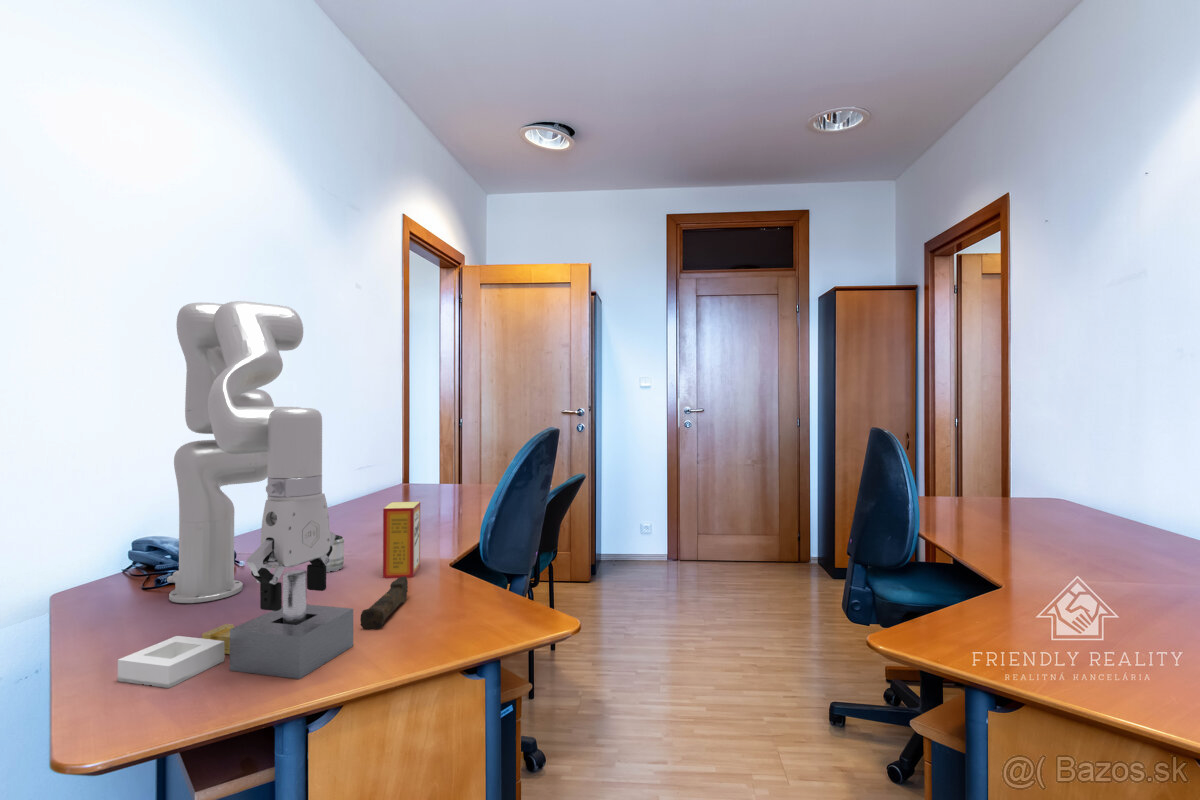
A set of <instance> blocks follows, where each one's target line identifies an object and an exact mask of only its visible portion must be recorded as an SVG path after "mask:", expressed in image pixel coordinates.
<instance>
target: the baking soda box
mask: <svg viewBox="0 0 1200 800" xmlns="http://www.w3.org/2000/svg"><path fill="white" fill-rule="evenodd" d="M382 511H383V512H382V515H383V517H382V521H383V522H382V523H383V524H382V526H383V527H382V528H383V529H382V530H383V531H382V537H383V538H382V578H385V579H398V578H400V577H403V576H405V577H406V578H407V579H408V578H414V577H415V575H416V574H417V572H418V571H419V569H420V567H421V501H391V503H388V504H387V505H386V506H384V507H383V510H382Z"/></svg>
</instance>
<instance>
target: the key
mask: <svg viewBox="0 0 1200 800" xmlns="http://www.w3.org/2000/svg"><path fill="white" fill-rule="evenodd" d="M234 627H235V624H231V623H230V624H229V623H224V624H221V625H220V626H218V627H215V628H213V629H210V630H208V631H206V632H203V633H201V638H202V639H211V640H220V641H224V655H230V629H232V628H234Z"/></svg>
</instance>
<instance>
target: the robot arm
mask: <svg viewBox="0 0 1200 800" xmlns="http://www.w3.org/2000/svg"><path fill="white" fill-rule="evenodd" d="M300 316H301V315H299V314H298V312H297V311H296V310H295V309H293V308H292V307H290V306H287V305H280V304H279V305H278V304H271V303H262V302H255V301H246V300H243V301H241V300H235V301H234V300H233V301H229V302H226V303H215V302H191V303H190V302H189V303H188V304H185V305H183V306H181V308H180V309H179V311H178V313H177V316H176V333H177V340H178V342H179V345H180V348H181V350H182V354H183V356H184V360H185V364H186V373H185V374H186V377H185V378H186V379H185V397H184V398H185V401H184V403H185V404H184V417H185V418H184V419H185V423H186V427H187V428H188V429H189V431H191V432H193V433H195V434H202V435H213V436H214V439H204V440H203V439H202V440H195V441H190V442H187V443H184V444H183V445H181V446H179V448H178V449H177V450H176V451H175V454H174V458H173V467H174V473H175V479H176V484H177V490H178V492H177V493H178V514H179V515H178V527H179V528H178V570H175V571H174V572H173V573H172V575H169V576H167V578H166V581H167V583H169V584H170V583H171V584H175V585H174V586H175V587H174V589H173V590H171V591H170V592H169V594H168V597H169V598H168V599H169V601H170V602H172V603H178V604H198V603H205V602H212V601H217V600H222V599H225V598H228V597H231V596H234V595H236V594H238V593H240V592H241V591H242V590H243V585H244V584H243V582H242V581H240V580H237V579H235V505H234V503H233V501H232V499H230V497H229V496H227V494H226V493H225V492H223V491H222V489H221V487H223V486H229V485H240V484H242V485H243V484H251V483H252V484H253V483H258V482H262V481H265V480H267V485H266V487H265V492H266V493H267V495H266V496H267V499H266V500H265V503H264V508H263V514H262V521H261V531H260V545H259V547H257V549H255V551H253V552H252V553H251V554H250V556H248V557H247V559H246V563H247V566H248V568H249V569H250V572H251V576H252V577H253V578H254V579H256V580H255V582H256V583H257V584H260V585H259V586H260V587H259V589H260V590H259V591H260V593H259V595H260V597H259V599H260V600H259V601H260V602H259V603H260V604H259V607H260V610H262V611H270V612H271V611H278V610H280V609H281V607H282V606H283V583H282V582H280V581H279V580H280V578H281V576H282V575H283V572H284V570H285V569H286V568H294V567H297V566H300V565H303V564H305V563H309V564H307V565H306V566H307V567H306V590H309V591H317V592H323V591H325V590H327V573H326V565H327V564H328V563H329V558H328V557H329V556H330V554H331V552H332V546H333V543H334V540H335V535H336V533H334V532H332V531H331V528H330V517H329V516H330V515H329V509H328V502H327V498H326V495H325V493H323V416H322V414H321V412H320V411H319V410H318V409H316V408H310V407H300V406H275V405H274V402H273V398H272V397H271V395H270V393H268V392H267V391H265V390H263V389H260V388H261V387H263V386H264V387H265V386H266V385H268V384H270V383H272V382H273V381H275V380H276V379H277V378H278V377H279V376H280V375H281V373H282V371H283V367H284V363H283V358H282V357H281V353H280V351H281V352H287V351H288V352H289V351H293V350H295V349H297V348H298V347H299V346H300V345H301V344H302V341H303V338H304V324H303V321H302V319H301V317H300ZM273 568H274V569H273ZM272 569H273V571H272V572H271V570H272Z"/></svg>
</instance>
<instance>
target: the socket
mask: <svg viewBox="0 0 1200 800" xmlns="http://www.w3.org/2000/svg"><path fill="white" fill-rule="evenodd" d="M353 647H354V608H350V607H349V608H348V607H340V606H339V607H337V606H326V605H316V604H309V603H308V604H307V603H306V621H304V622H302V623H300V624H298V625H290V624H283V605H282V607H281V609H280V610H278V611H271V610H270V611H268V612H267V613H264V614H262V615H260V616H257V617H255V618H252V619H250V620H248V621H246V622H244V623H241V624H239V625H237V626H234V628H232V629H230V654H229V671H232V672H238V673H239V672H240V673H248V674H256V675H263V676H272V677H278V678H279V677H280V678H287V679H293V680H294V679H297V680H300V679H302V678H304V677H305V676H307V675H308V674H310V673H312V672H314V671H315V670H317V669H318V668H320V667H321V666H323V665H325V664H326V663H328V662H330V661H332V660H333V659H334V658H336V657H338V656H339V655H341V654H343V653H344V652H346V651H347V650H350V649H351V648H353Z"/></svg>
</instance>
